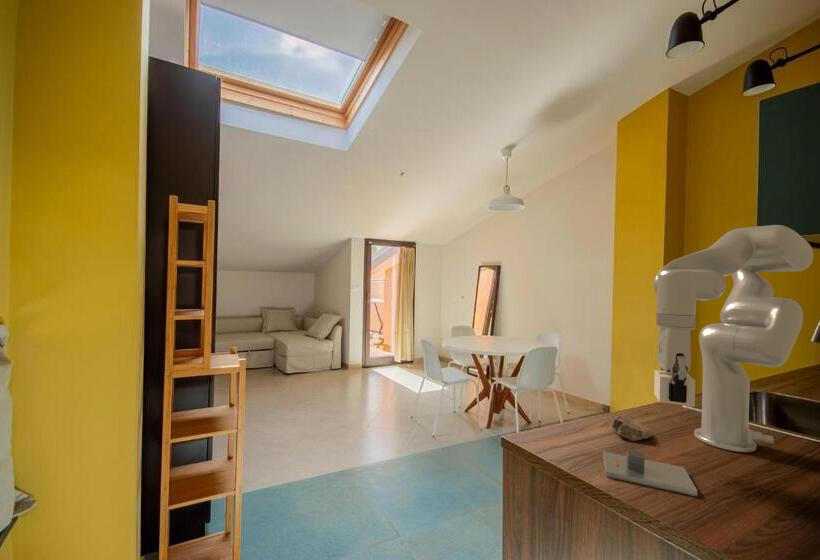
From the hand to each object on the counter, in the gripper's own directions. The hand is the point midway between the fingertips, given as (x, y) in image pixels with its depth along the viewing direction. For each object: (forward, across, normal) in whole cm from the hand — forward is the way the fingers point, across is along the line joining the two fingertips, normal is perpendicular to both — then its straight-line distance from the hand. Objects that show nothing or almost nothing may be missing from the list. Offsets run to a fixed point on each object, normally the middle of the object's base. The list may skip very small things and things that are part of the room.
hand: (673, 396), depth 86 cm
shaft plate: (+16, +10, -7) cm, 20 cm away
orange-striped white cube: (+1, 0, 0) cm, 1 cm away
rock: (+16, -13, -7) cm, 21 cm away
